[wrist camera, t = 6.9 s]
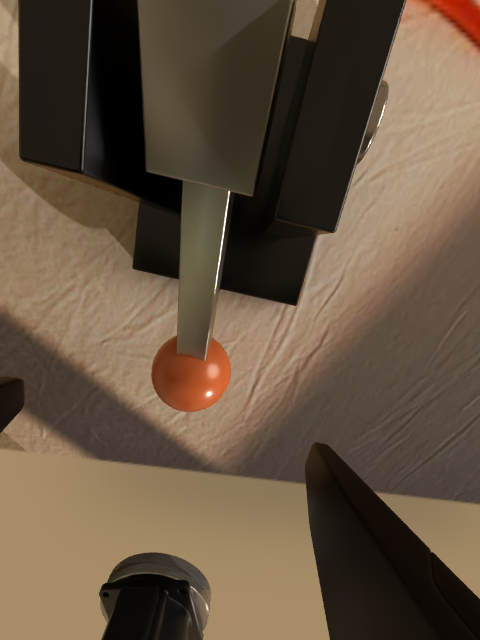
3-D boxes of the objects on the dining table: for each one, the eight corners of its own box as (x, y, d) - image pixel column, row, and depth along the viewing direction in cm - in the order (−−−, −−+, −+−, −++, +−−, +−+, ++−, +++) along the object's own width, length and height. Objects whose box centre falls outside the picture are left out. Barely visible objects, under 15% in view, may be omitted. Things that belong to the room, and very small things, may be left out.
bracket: (293, 302, 14) (367, 407, 5) (140, 267, 14) (-65, 312, 5) (359, 70, 11) (777, -605, 2) (168, 23, 11) (-180, -894, 2)
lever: (229, 371, 14) (217, 433, 11) (167, 357, 14) (140, 417, 11) (318, 22, 6) (342, -24, 3) (166, -17, 6) (74, -91, 3)
